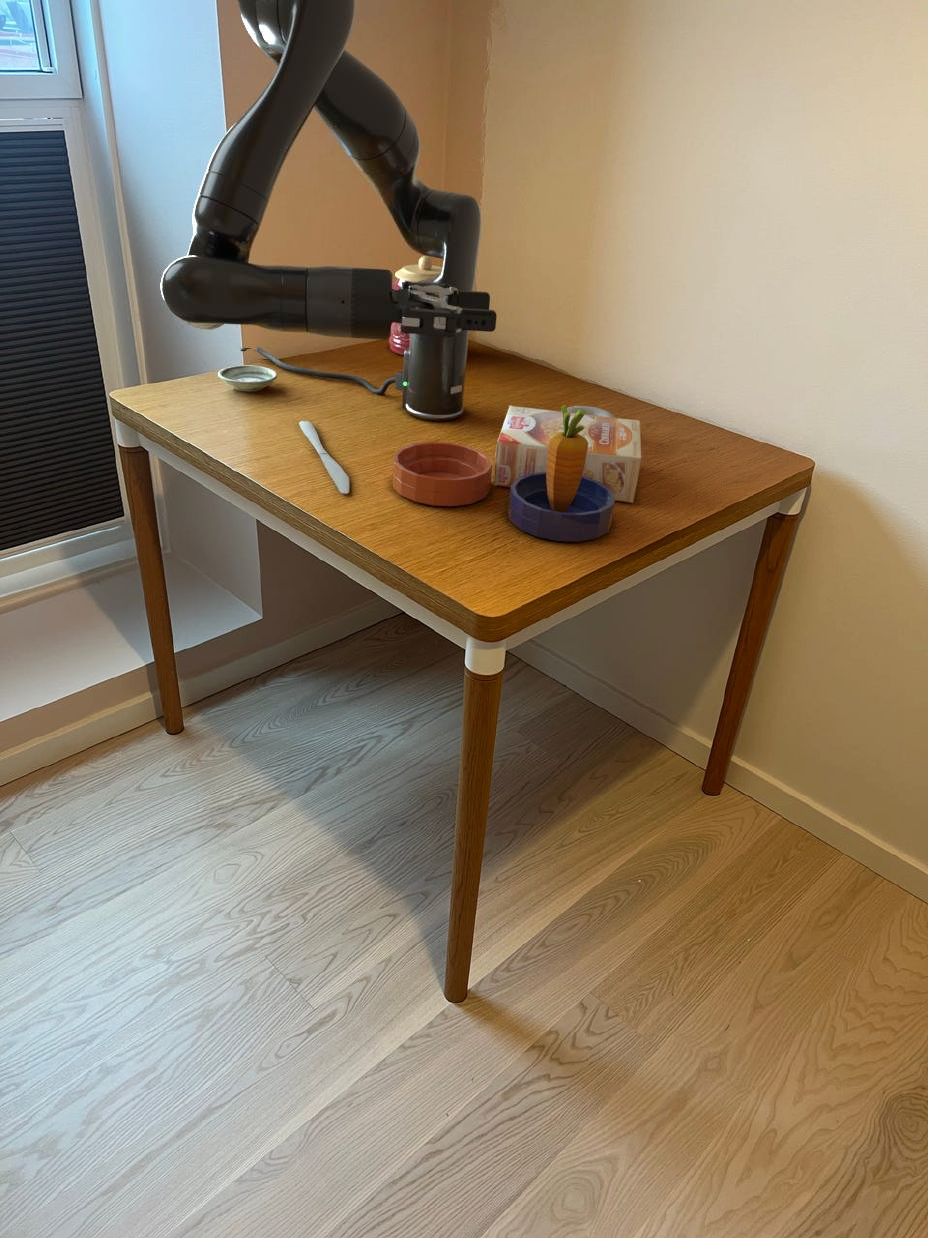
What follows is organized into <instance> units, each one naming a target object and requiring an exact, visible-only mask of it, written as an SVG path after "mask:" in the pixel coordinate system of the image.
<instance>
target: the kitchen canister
mask: <svg viewBox="0 0 928 1238" xmlns="http://www.w3.org/2000/svg"><path fill="white" fill-rule="evenodd" d="M442 267H443V266H442ZM442 267H441V266H438V265H433V260H432V257H430V256H425V255H422V256H420V258H419V259H418V264H417V263H416V264H408V265H404V266H403V267H402V268H401V269H398V270H397V271H396V272H394V275H395V277H396V280H395V281H394V282H392V287H393V289H395V290H397V289H401V283H402V282H405V281H408V282H418V281H421V280H425V279H430V278H434V277H437V276H438V275H440V274H441V271H442ZM388 343H389V349H390V350H391V351H392V352H393V353H395V354H398V355H401V356H404V352H405V350H407V349H409V343H410V333H409V334H405V333H402V332H401V324H400V323H396V322H394V323H392V324H391V336H390V338H389V339H388Z"/></svg>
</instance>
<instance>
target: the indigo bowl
mask: <svg viewBox="0 0 928 1238" xmlns="http://www.w3.org/2000/svg"><path fill="white" fill-rule="evenodd" d="M509 488H510V489H509V498H508V506H507V507H508V508H507V514H508V517H509V518H508V519H509V521H510V522H511V523H512V524H513V525H515V526H516V527H517V529H519V530H520V531H522V532H524V533H527V534H530V535H532V536H534V537H537V538H541V539H545V540H551V541H554V542H570V543H571V542H574V543H575V542H577V543H578V542H579V543H580V542H586V541H591V540H595V539H596V540H597V539H598V538H600V537H602V536H604V535H605V534H607V533H608V532H609V530H610V527H611V526H612V522H613V515H614V510H615V504H616V500H615V496H614V495H613V493H612V491H611V489H609V488H608V487H606V486H605V485H603V484H602V483H600V482H598V481H596V480H593V479H590V478H587V477H585V476H582V478H581V481H580V484H579V487H578V490H577V492H576V495H575V497H574V499H573V501H572V503H571V505H570V507H569V508H568V510H567V511H566V512H558V511H553V510H552V509H551V506H550V503H549V499H548V494H547V480H546V472H538V473H531V474H527V475H524V476H522V477H519V478H517V479H516V480H515V481H514V483H513V484H512V485H511V487H509Z"/></svg>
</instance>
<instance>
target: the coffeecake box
mask: <svg viewBox="0 0 928 1238" xmlns="http://www.w3.org/2000/svg"><path fill="white" fill-rule="evenodd" d="M575 414H576V413H570V419H569V425H570V423H571V421H572V419H573V417H574V416H575ZM578 426H584V427H585V428H584V429H583V430H581V431H580V432H578V434H579V435H581V436H582V437H584V438H585V439H586V440H587V441H588V450H587V455H586V461H585V466H584V470H583V475H582V476H585V477H587V478H590V479H593V480H596V481H598V482H600V483H602V484H603V485H605V486H606V487H608V488H609V489H611V491H612V493H613V495H614V496H615V502H616V501H617V502H624V503H631V504H634V499H635V495H636V491H637V486H638V481H639V475H640V469H641V464H642V441H641V440H642V439H641V420H640V419H639V420H637V419H628V418H618V417H615V418H610V417H602V416H593V415H584V416H583V418H582V419H581V420H580V422H579V423H578V424H577V426H576V428H577V427H578ZM559 432H564V426H563V414H562V412H561V411H559V410H552V409H551V410H549V409H541V408H534V407H524V406H515V405H511V404H510V405H509V406H508V409H507V413H506V415H505V418H504V421H503V424H502V427H501V430H500V433H499V436H498V438H497V441H496V447H495V454H494V455H495V456H494V457H495V458H494V478H493V487H503V488H511V485H512V484H513V483H514V481H515V480H516V479H517V478H519V477H522V476H524V475H527V474H531V473H538V472H546V470H547V457H548V447H549V442H550V440H551V438H552V437H553V436H554V435H555V434H556V433H559Z"/></svg>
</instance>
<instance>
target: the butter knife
mask: <svg viewBox="0 0 928 1238" xmlns="http://www.w3.org/2000/svg"><path fill="white" fill-rule="evenodd" d="M298 425H299V427H300V429H301V431H302V432H303V434H304V435H305V437H306V439H308V441H309V442H310V443H311V444H312V446H313V447H314V449H315V451H316V452H317V454H318V455H319V457H320V459H321V461H322V463H323V465H324V467H325V469H326V471H327V473H328V475H329V477H330V478H331V479H332V481H333V483H334V484H335V485H336V487H337V489H338V491H339V493H340V494H342V495H347V494H350V477H349V476H348V474H347V473H346V471H345V470H344V469H343V468H342V467H341V465H340V463H339V464H338V462H337V461H336V460H334V459H333V458H332V457H331V456H330V455H329V453H328V452H327V451H326V450H325V449H324V447H323V445H322V442H321V440H320V436H319V433H318V432H317V430H316V428H315V426H314V424H312V423H311V422H310V421H307V420H301V421H299V423H298Z"/></svg>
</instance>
